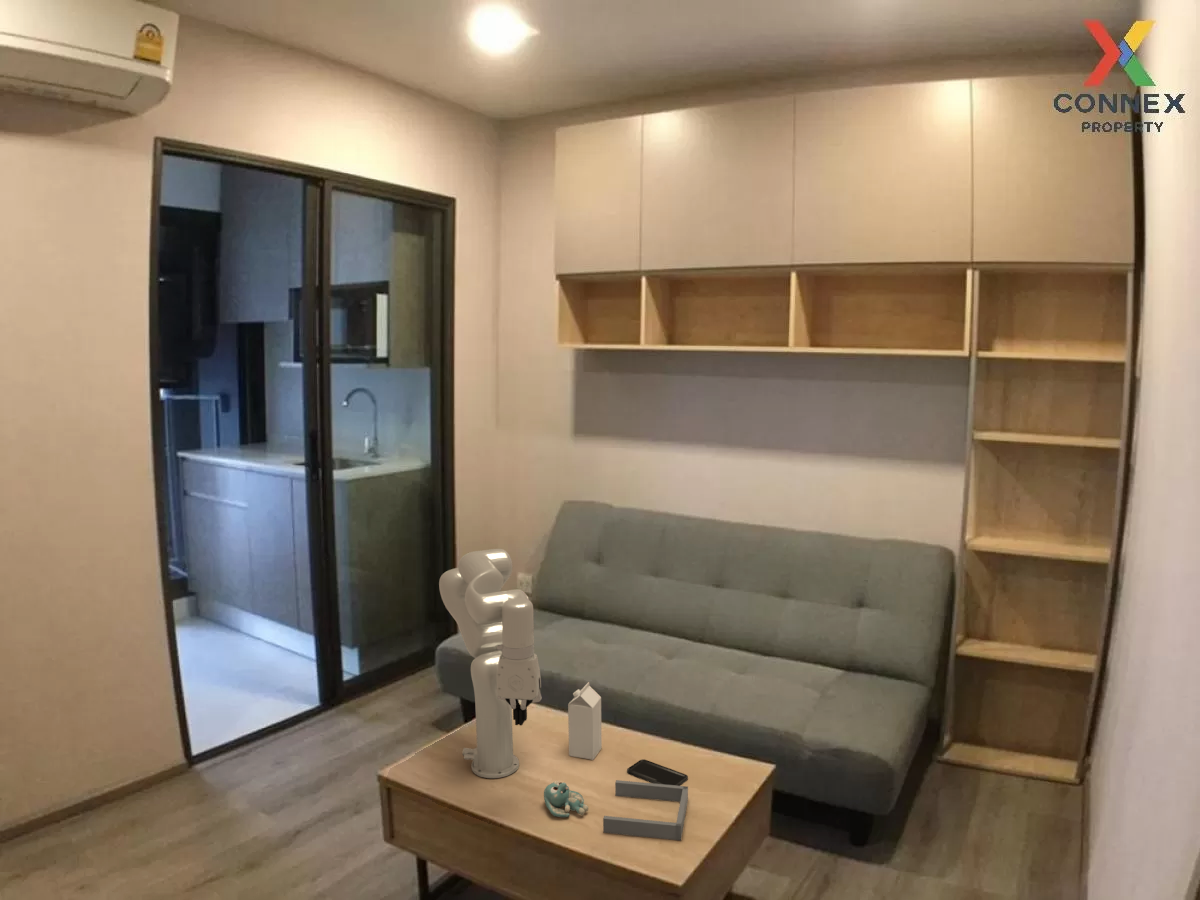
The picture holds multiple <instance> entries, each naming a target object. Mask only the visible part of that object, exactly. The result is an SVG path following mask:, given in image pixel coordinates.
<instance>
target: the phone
mask: <svg viewBox="0 0 1200 900" xmlns="http://www.w3.org/2000/svg"><path fill="white" fill-rule="evenodd" d="M626 773H627V775H630V776H632V777H635V778H637V779H640V780H643V781H646V782H647V783H654V784H665V785H676V786H683V785H684V783H686V782H687V781H688V780H689V776H688V775H687V774H685V773H684V772H683V773H682V772H680V771H677V770H674V769H671V768H669V767H667V766H663V765H661V764H658V763H656V762H653V761H651V760H647V759H645V758H644V759H639V760H638V761H636V762H635V763H634V764H632V765H631V766H629V767H628V768H626Z"/></svg>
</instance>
